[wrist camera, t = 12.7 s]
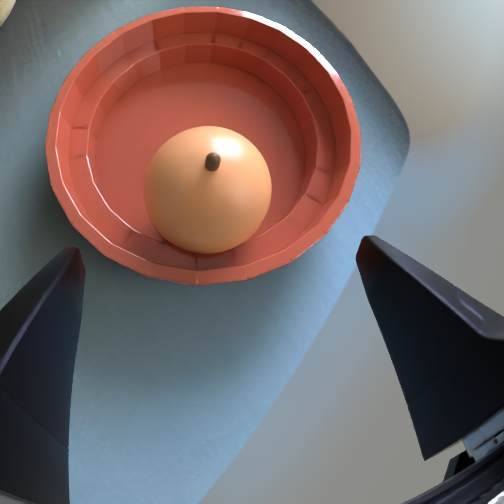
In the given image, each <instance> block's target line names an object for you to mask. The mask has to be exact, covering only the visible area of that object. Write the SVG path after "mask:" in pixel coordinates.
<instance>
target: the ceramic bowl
mask: <svg viewBox="0 0 504 504" xmlns="http://www.w3.org/2000/svg"><path fill="white" fill-rule="evenodd" d="M15 2H16V0H0V28H1V26H2V25H3V23H4V22H5V21H6V19H7V17H8V16H9V14H10V12H11V10H12V8H13V6H14V4H15Z"/></svg>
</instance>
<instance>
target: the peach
mask: <svg viewBox="0 0 504 504" xmlns="http://www.w3.org/2000/svg"><path fill="white" fill-rule="evenodd" d="M271 193H272V184H271V177H270V173H269V170H268V167H267V164H266V162H265V160H264V158H263V156H262V155H261V153H260V152H259V151H258V149H257V148H256V147H255V146H254V145H253V144H252V143H251V142H250V141H249V140H247V139H246V138H245V137H243V136H242V135H240V134H238V133H236V132H234V131H232V130H229V129H226V128H222V127H216V126H201V127H195V128H191V129H188V130H185V131H183V132H180V133H178V134H177V135H175V136H173V137H172V138H170V139H169V140H168V141H166V142H165V143H164V144H163V145H162V146H161V147H160V148H159V150H158V151H157V152H156V153H155V155H154V156H153V158H152V160H151V161H150V163H149V166H148V168H147V171H146V175H145V179H144V187H143V195H144V202H145V207H146V210H147V213H148V216H149V218H150V220H151V222H152V223H153V225H154V226H155V228H156V229H157V230H158V232H159V233H160V234H161V235H162V236H163V237H164V238H165V239H167V240H168V241H169V242H170V243H172V244H174V245H175V246H177V247H179V248H181V249H183V250H186V251H190V252H194V253H200V254H212V253H219V252H224V251H227V250H230V249H232V248H234V247H236V246H238V245H240V244H242V243H243V242H244V241H246V240H247V239H249V238H250V237H251V236H252V235H253V234H254V233H255V232H256V230H257V229H258V228H259V227H260V225H261V223H262V222H263V220H264V218H265V216H266V214H267V212H268V209H269V205H270V201H271Z"/></svg>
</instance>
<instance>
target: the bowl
mask: <svg viewBox="0 0 504 504" xmlns="http://www.w3.org/2000/svg"><path fill="white" fill-rule="evenodd" d="M201 126H216V127H222V128H226V129H229V130H232V131H234V132H236V133H238V134H240V135H242V136H243V137H245V138H246V139H247V140H249V141H250V142H251V143H252V144H253V145H254V146H255V147H256V148H257V149H258V151H259V152H260V153H261V155H262V156H263V158H264V160H265V162H266V164H267V167H268V170H269V173H270V177H271V184H272V193H271V201H270V205H269V209H268V212H267V214H266V216H265V218H264V220H263V222H262V223H261V225H260V227H259V228H258V229H257V230H256V232H255V233H254V234H253V235H252V236H251V237H250V238H249V239H247V240H246V241H244V242H243V243H242V244H240V245H238V246H236V247H234V248H232V249H230V250H227V251H224V252H219V253H212V254H200V253H194V252H190V251H186V250H183V249H181V248H179V247H177V246H175V245H174V244H172V243H170V242H169V241H168V240H167V239H165V238H164V237H163V236H162V235H161V234H160V233H159V232H158V230H157V229H156V228H155V226H154V225H153V223H152V222H151V220H150V218H149V216H148V213H147V210H146V207H145V202H144V195H143V187H144V179H145V175H146V171H147V168H148V166H149V163H150V161H151V160H152V158H153V156H154V155H155V153H156V152H157V151H158V150H159V148H160V147H161V146H162V145H163V144H164V143H165V142H166V141H168V140H169V139H170V138H172V137H173V136H175V135H177V134H178V133H180V132H183V131H185V130H188V129H191V128H195V127H201ZM45 153H46V160H47V166H48V171H49V177H50V182H51V187H52V189H53V192H54V193H55V195H56V197H57V199H58V201H59V203H60V205H61V207H62V209H63V210H64V212H65V214H66V216H67V218H68V220H69V221H70V223H71V224H72V226H73V227H74V228H75V229H76V230H77V231H78V232H79V233H80V234H81V235H82V236H83V237H84V238H85V239H86V240H88V241H89V242H90V243H91V244H92V245H93V246H94V247H95V248H96V249H97V250H98V251H99V252H100V253H101V254H103V255H104V256H105V257H107V258H109V259H111V260H113V261H115V262H117V263H119V264H121V265H123V266H125V267H127V268H129V269H131V270H134V271H136V272H138V273H140V274H142V275H144V276H146V277H149V278H154V279H159V280H165V281H171V282H177V283H183V284H189V285H198V286H199V285H209V284H218V283H227V282H236V281H245V280H249V279H252V278H254V277H257V276H259V275H262V274H264V273H267V272H269V271H272V270H274V269H277V268H279V267H282V266H284V265H286V264H289V263H291V262H292V261H294V260H295V259H297V258H298V257H299V256H300V255H302V254H303V253H304V252H305V251H307V250H308V249H309V248H311V247H312V246H313V245H314V244H316V243H317V242H318V241H319V240H321V239H322V238H323V237H324V236H325V235H326V234H327V233H328V232H329V230H330V229H331V227H332V226H333V225H334V223H335V222H336V220H337V219H338V217H339V216H340V214H341V213H342V212H343V210H344V209H345V207H346V206H347V204H348V202H349V200H350V197H351V194H352V191H353V188H354V185H355V182H356V179H357V175H358V172H359V169H360V155H361V132H360V128H359V124H358V120H357V116H356V113H355V109H354V105H353V102H352V99H351V97H350V95H349V93H348V91H347V89H346V88H345V86H344V84H343V82H342V81H341V79H340V77H339V75H338V74H337V72H336V71H335V69H334V68H333V67H332V66H331V65H330V64H329V63H328V62H327V61H326V59H325V58H324V57H323V56H322V55H321V54H320V53H319V52H318V51H317V50H316V49H315V48H314V47H313V46H312V45H311V44H309V43H308V42H307V41H305V40H304V39H302V38H301V37H299V36H298V35H297V34H295V33H294V32H292V31H291V30H289V29H288V28H286V27H284V26H282V25H280V24H278V23H275V22H273V21H270V20H268V19H266V18H263V17H261V16H258V15H256V14H252V13H249V12H244V11H239V10H234V9H229V8H223V7H184V8H183V7H182V8H177V9H172V10H167V11H163V12H159V13H154V14H150V15H147V16H145V17H143V18H140V19H138V20H136V21H133V22H131V23H129V24H127V25H125V26H123V27H121V28H119V29H117V30H115V31H114V32H112V33H111V34H110V35H108V36H107V37H106V38H104V39H103V40H102V41H100V42H99V43H98V44H96V45H95V46H94V47H93V48H91V49H90V50H89V51H88V52H87V53H86V54H85V55H84V56H83V57H82V59H81V60H80V61H79V62H78V64H77V65H76V66H75V67H74V68H73V70H72V71H71V72H70V73H69V75H68V76H67V77H66V80H65V81H64V83H63V85H62V87H61V89H60V91H59V94H58V96H57V98H56V100H55V103H54V105H53V107H52V110H51V113H50V116H49V123H48V130H47V137H46V145H45Z"/></svg>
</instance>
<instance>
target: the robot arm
mask: <svg viewBox="0 0 504 504" xmlns="http://www.w3.org/2000/svg"><path fill="white" fill-rule="evenodd" d="M356 263H357V266H358V269H359V272H360V275H361V279H362V282H363V285H364V288H365V291H366V295H367V298H368V301H369V303H370V306H371V308H372V310H373V313H374V316H375V318H376V320H377V323H378V326H379V328H380V331H381V333H382V336H383V338H384V341H385V343H386V346H387V349H388V352H389V354H390V357H391V360H392V362H393V365H394V368H395V371H396V374H397V376H398V379H399V382H400V385H401V388H402V391H403V394H404V397H405V400H406V403H407V405H408V409H409V412H410V416H411V419H412V422H413V425H414V428H415V432H416V435H417V438H418V442H419V445H420V449H421V452H422V455H423V458H424V460H425V461H426V460H427V459H429V458H432V457H434V456H436V455H438V454H439V453H441V452H443V451H445V450H447V449H448V448H451V447H452V446H454V445H456V444H458V443H459V442H461V441H463V444H464V446H465V448H466V450H465V451H464V452H462V453H461V454H459V455H457V456H455V457H454V458H452V459H450V461H449V465H448V468H447V471H446V474H445V477H444V480H443V482H442V483H441V484H439V485H437V486H435V487H433V488H431V489H430V490H428V491H426V492H424V493H422V494H420V495H418V496H416V497H414V498H412V499H410V500H408V501H406V502H404V503H402V504H504V317H503V316H502V315H500V314H498V313H496V312H495V311H494V310H492V309H490V308H489V307H487V306H485V305H484V304H482V303H481V302H479V301H477V300H476V299H474V298H472V297H471V296H470V295H468V294H467V293H465V292H464V291H462V290H460V289H459V288H458V287H456V286H454V285H453V284H452V283H450V282H448V281H447V280H445V279H444V278H442V277H441V276H439V275H438V274H436V273H435V272H433V271H431V270H430V269H429V268H427V267H425V266H424V265H422V264H420V263H419V262H417V261H416V260H414V259H413V258H411V257H409V256H408V255H406V254H404V253H403V252H401V251H400V250H398V249H396V248H395V247H393V246H391V245H389V244H388V243H386V242H385V241H383V240H381V239H380V238H378V237H376V236H364V237H363V238H362V240H361V243H360V246H359V249H358V251H357V254H356ZM84 282H85V268H84V264H83V261H82V257H81V254H80V250H79V248H77V247H66V248H64V249H63V250H62V251H61V252H60V253H59V254H57V255H56V256H55V257H54V258H53V259H52V260H51V261H50V262H49V263H48V264H47V265H46V266H44V267H43V268H42V269H41V270H40V271H39V272H38V273H37V274H36V275H35V276H34V277H33V278H32V279H31V280H30V281H29V282H28V283H27V284H26V285H25V286H24V287H23V288H22V289H21V290H20V291H19V292H18V293H17V294H16V295H15V296H14V297H13V298H12V299H11V300H10V301H9V302H8V303H7V304H6V305H5V306H4V307H3V308H2V309H1V310H0V504H70V500H69V472H68V452H69V449H68V445H69V420H70V405H71V393H72V383H73V373H74V365H75V357H76V350H77V343H78V337H79V331H80V325H81V317H82V305H83V292H84Z"/></svg>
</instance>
